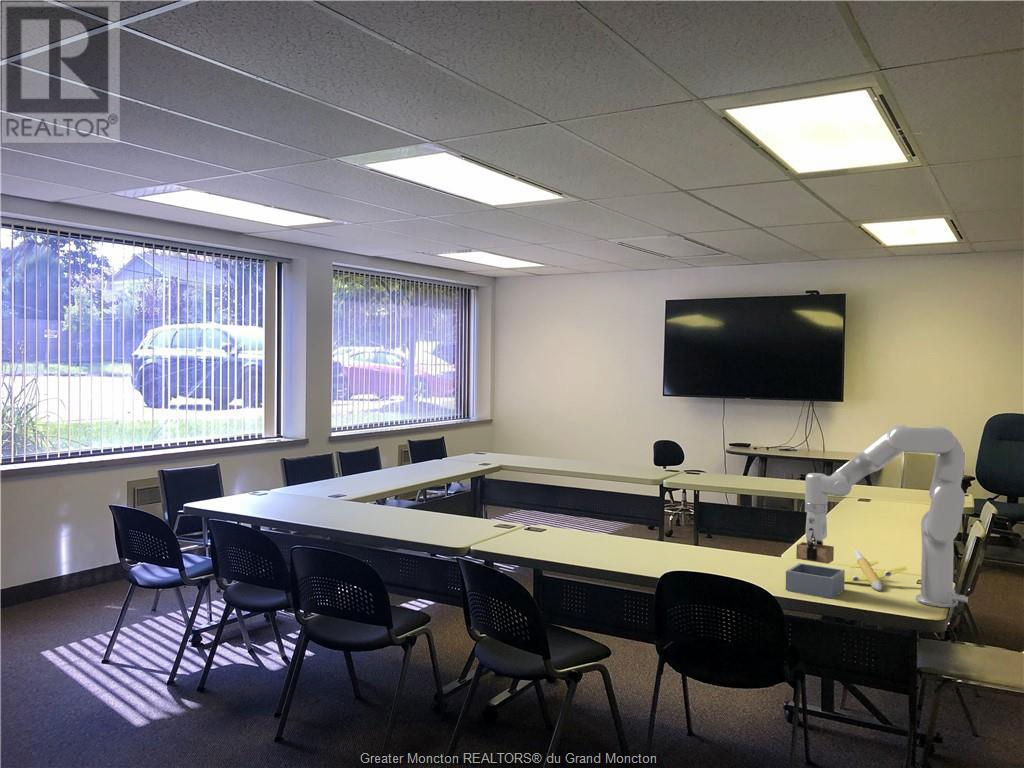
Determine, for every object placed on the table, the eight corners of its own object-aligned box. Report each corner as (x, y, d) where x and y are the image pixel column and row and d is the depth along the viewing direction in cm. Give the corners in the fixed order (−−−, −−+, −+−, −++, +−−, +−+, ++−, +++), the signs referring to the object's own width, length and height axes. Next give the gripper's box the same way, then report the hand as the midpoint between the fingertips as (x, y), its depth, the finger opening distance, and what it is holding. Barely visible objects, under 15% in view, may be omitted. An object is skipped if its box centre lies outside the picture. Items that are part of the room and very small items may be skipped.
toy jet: (920, 596, 275) (892, 556, 304) (916, 578, 274) (888, 539, 302) (845, 610, 280) (824, 569, 309) (841, 592, 279) (821, 553, 308)
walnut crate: (833, 560, 278) (833, 546, 278) (828, 563, 273) (828, 549, 272) (802, 555, 284) (802, 541, 284) (796, 558, 279) (796, 544, 279)
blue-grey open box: (844, 589, 280) (844, 570, 279) (832, 598, 268) (832, 578, 268) (799, 581, 289) (799, 563, 289) (785, 590, 278) (785, 570, 278)
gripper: (819, 512, 269) (818, 563, 269) (834, 506, 283) (832, 555, 283) (797, 509, 274) (796, 560, 274) (812, 503, 287) (811, 551, 288)
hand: (814, 557), depth 279 cm, fingers closed on walnut crate, 6 cm apart
